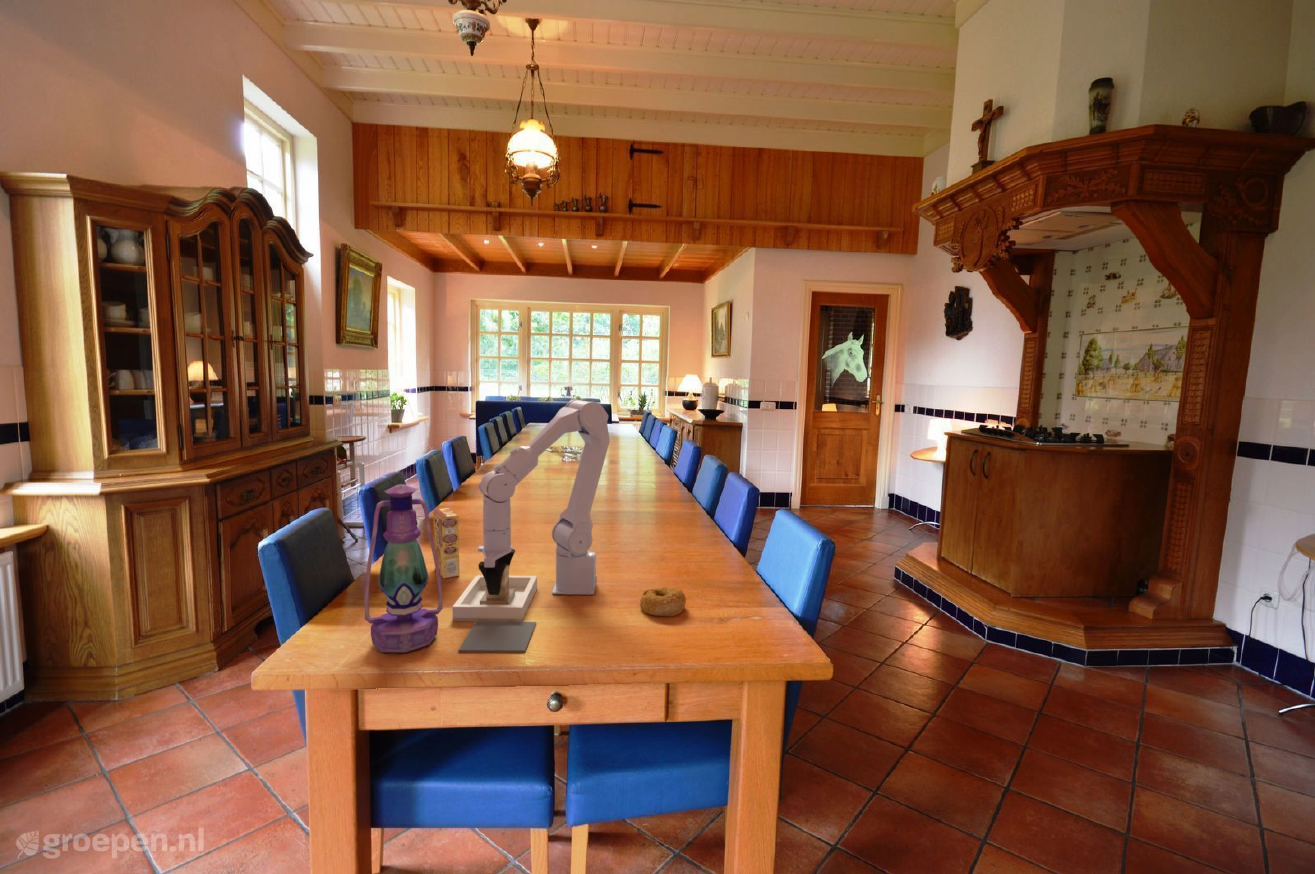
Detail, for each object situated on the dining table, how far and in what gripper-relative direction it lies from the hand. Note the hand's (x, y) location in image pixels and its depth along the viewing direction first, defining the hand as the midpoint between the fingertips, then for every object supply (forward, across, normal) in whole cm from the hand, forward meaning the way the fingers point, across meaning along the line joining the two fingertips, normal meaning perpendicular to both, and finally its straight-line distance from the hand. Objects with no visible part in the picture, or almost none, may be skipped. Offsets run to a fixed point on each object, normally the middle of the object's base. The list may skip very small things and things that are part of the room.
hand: (497, 588), depth 130 cm
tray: (+3, 0, 0) cm, 3 cm away
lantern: (+4, +18, -13) cm, 22 cm away
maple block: (+1, 0, 0) cm, 1 cm away
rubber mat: (+3, +16, +4) cm, 17 cm away
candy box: (+4, -19, -17) cm, 26 cm away
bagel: (+4, +2, +36) cm, 36 cm away
